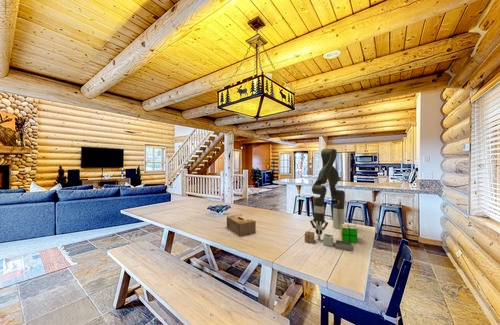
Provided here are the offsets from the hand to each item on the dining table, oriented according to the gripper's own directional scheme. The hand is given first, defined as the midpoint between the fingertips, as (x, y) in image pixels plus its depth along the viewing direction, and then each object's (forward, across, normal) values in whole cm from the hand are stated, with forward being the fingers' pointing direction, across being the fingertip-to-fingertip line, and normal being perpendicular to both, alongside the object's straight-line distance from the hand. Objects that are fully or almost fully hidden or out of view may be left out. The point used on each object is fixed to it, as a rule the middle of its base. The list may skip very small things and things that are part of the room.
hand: (319, 234), depth 152 cm
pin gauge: (+4, 0, 0) cm, 4 cm away
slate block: (+4, -7, +6) cm, 10 cm away
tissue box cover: (+5, +64, +7) cm, 64 cm away
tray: (+4, -17, +6) cm, 19 cm away
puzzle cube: (+4, -20, -10) cm, 23 cm away
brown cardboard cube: (+4, +6, +6) cm, 9 cm away
